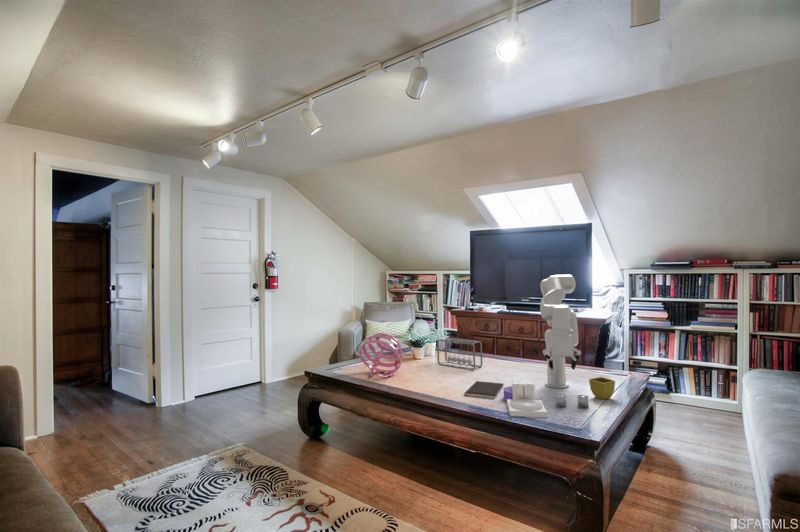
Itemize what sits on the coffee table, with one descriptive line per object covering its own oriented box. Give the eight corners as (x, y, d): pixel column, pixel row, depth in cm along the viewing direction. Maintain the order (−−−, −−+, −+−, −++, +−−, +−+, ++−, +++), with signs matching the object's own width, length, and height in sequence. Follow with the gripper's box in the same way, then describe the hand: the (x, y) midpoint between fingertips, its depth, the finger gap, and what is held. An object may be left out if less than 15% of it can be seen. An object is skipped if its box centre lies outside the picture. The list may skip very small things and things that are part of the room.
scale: (506, 402, 200) (506, 382, 200) (540, 403, 197) (539, 383, 197) (510, 416, 182) (509, 393, 182) (547, 417, 179) (546, 394, 179)
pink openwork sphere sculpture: (381, 351, 235) (394, 320, 256) (344, 359, 248) (359, 329, 270) (403, 384, 246) (414, 351, 267) (367, 389, 259) (380, 358, 281)
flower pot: (603, 401, 198) (603, 383, 198) (588, 396, 206) (588, 378, 206) (616, 398, 202) (615, 380, 202) (601, 394, 210) (600, 376, 210)
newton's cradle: (482, 367, 272) (482, 341, 272) (474, 370, 264) (474, 343, 264) (445, 361, 292) (445, 337, 292) (437, 364, 284) (436, 339, 284)
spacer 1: (554, 404, 196) (554, 394, 196) (564, 404, 195) (564, 394, 195) (556, 407, 191) (556, 397, 191) (567, 407, 191) (566, 397, 191)
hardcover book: (503, 387, 227) (503, 383, 227) (494, 400, 206) (494, 395, 206) (475, 384, 234) (475, 380, 234) (464, 396, 213) (464, 392, 213)
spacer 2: (576, 405, 194) (576, 394, 194) (586, 405, 193) (586, 394, 193) (579, 408, 190) (578, 397, 190) (589, 408, 189) (589, 397, 189)
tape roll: (507, 403, 199) (507, 393, 200) (500, 396, 211) (500, 386, 211) (531, 402, 200) (531, 392, 200) (522, 395, 212) (522, 385, 212)
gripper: (578, 331, 194) (579, 367, 194) (540, 331, 197) (541, 366, 197) (582, 333, 187) (583, 371, 186) (543, 333, 190) (544, 370, 189)
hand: (562, 368), depth 191 cm, fingers open, 9 cm apart
